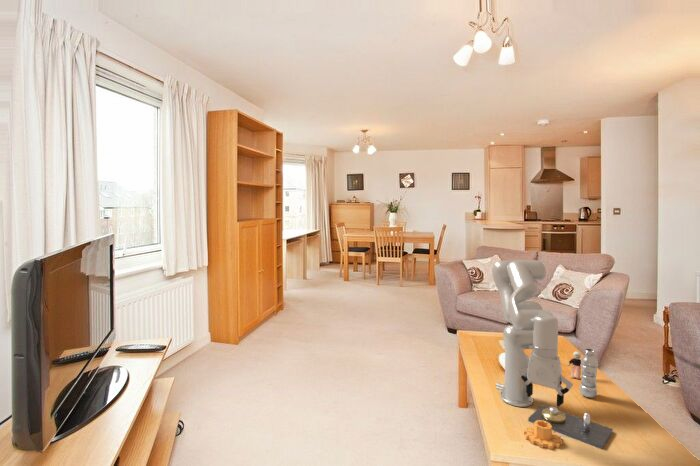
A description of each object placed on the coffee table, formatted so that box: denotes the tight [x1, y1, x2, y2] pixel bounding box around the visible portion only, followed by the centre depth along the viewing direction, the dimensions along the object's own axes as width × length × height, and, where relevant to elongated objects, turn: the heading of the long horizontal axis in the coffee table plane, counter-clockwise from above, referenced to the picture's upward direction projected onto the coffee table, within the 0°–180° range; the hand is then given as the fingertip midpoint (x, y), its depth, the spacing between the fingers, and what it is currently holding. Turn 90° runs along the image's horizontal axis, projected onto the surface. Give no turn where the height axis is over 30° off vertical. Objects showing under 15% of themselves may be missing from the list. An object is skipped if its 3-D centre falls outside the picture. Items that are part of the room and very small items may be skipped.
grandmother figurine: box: [567, 351, 582, 380], centre depth 182 cm, size 8×4×13 cm, turn 76°
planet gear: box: [523, 420, 563, 450], centre depth 134 cm, size 12×12×5 cm
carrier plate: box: [527, 404, 614, 450], centre depth 142 cm, size 24×14×7 cm, turn 44°
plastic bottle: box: [579, 348, 599, 399], centre depth 164 cm, size 6×7×20 cm
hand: (544, 400), depth 133 cm, fingers open, 9 cm apart
